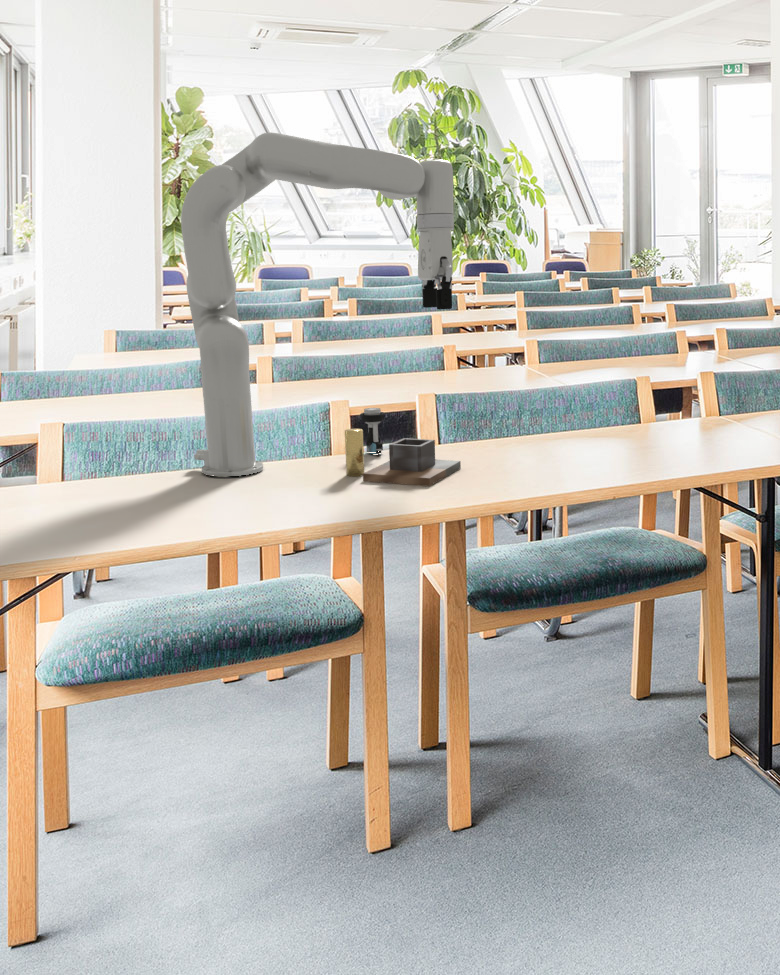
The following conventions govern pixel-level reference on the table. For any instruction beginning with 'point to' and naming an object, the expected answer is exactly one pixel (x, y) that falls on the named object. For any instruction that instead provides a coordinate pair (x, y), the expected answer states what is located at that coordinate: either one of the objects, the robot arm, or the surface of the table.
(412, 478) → the base with square socket
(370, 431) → the push button
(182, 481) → the table surface
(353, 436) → the hinge pin
